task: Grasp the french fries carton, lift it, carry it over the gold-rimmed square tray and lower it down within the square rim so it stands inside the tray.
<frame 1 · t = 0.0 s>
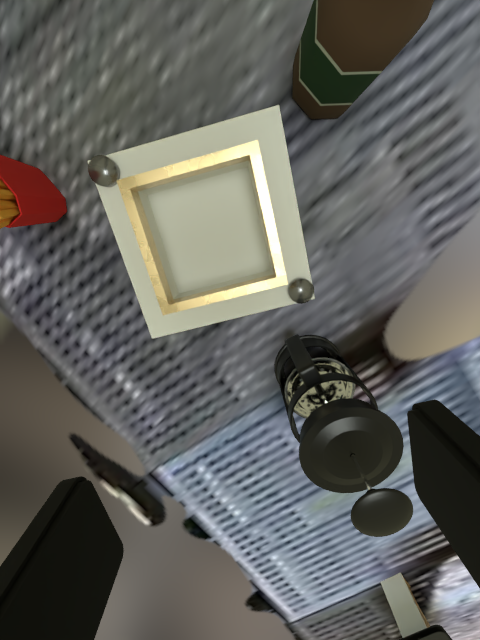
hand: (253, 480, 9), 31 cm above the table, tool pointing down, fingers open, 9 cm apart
french press: (305, 362, 42), on the table
gold-rimmed square tray: (211, 233, 37), on the table
beer bottle: (324, 83, 32), on the table
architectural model: (402, 590, 57), on the table
french fries: (44, 196, 35), on the table
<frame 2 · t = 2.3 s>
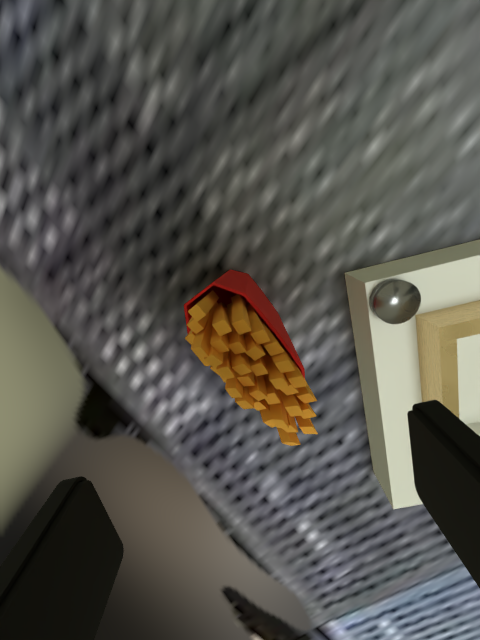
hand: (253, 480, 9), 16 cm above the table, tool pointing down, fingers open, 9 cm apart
gold-rimmed square tray: (478, 358, 25), on the table
french fries: (246, 308, 24), on the table
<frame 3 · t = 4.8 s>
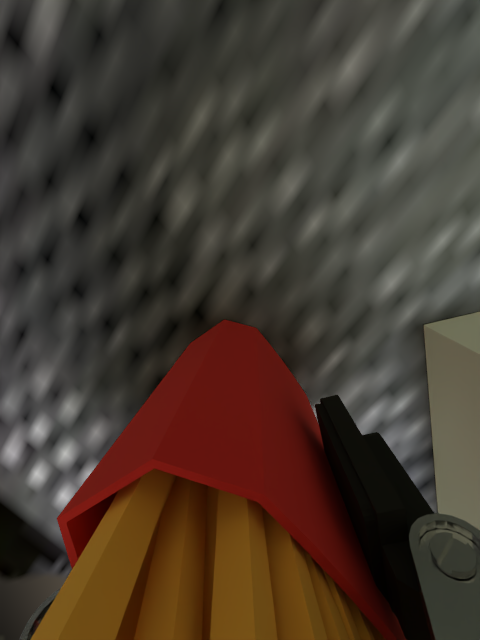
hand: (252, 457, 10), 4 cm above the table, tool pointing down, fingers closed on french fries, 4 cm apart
french fries: (252, 384, 14), on the table, touching gripper
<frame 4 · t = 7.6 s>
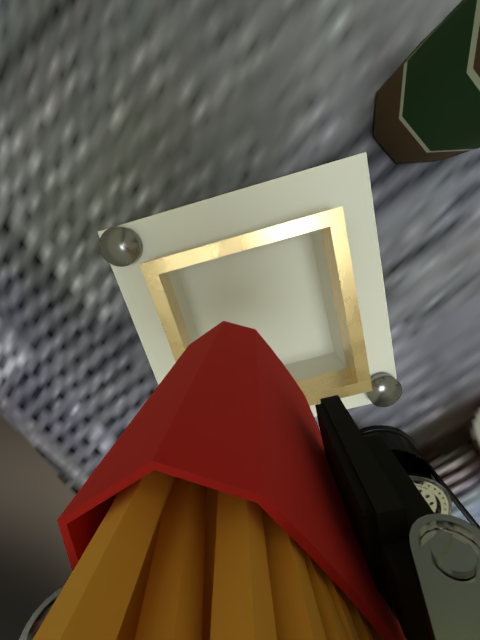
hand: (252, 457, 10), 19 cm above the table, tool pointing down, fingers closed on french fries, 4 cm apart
french press: (371, 456, 33), on the table
gold-rimmed square tray: (258, 308, 28), on the table
beer bottle: (416, 115, 24), on the table
french fries: (251, 386, 14), point 15 cm above the table, touching gripper
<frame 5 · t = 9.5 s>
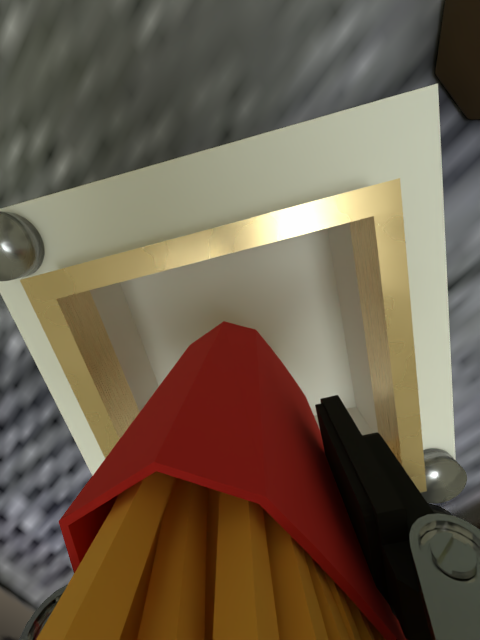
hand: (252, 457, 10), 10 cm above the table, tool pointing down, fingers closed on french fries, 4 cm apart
gold-rimmed square tray: (244, 341, 19), on the table
french fries: (251, 386, 14), point 5 cm above the table, touching gripper
when the fingers open (8 cm above the table, at t = 10.7 s): french fries drops 3 cm, resting on gold-rimmed square tray.
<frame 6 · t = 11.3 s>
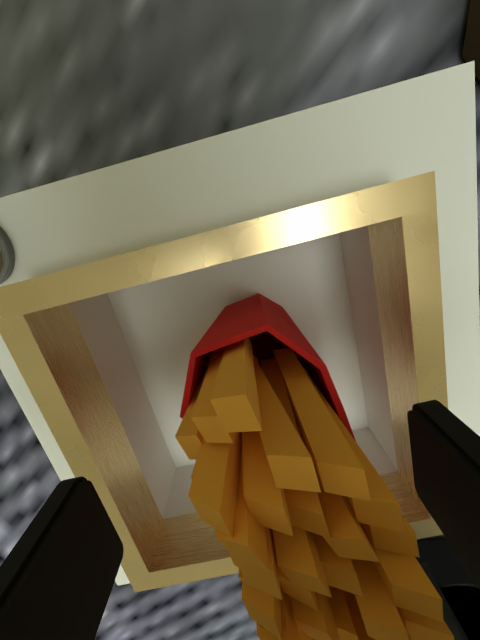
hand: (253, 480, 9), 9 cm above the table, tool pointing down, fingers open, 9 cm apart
french press: (413, 567, 22), on the table
gold-rimmed square tray: (246, 356, 17), on the table
french fries: (264, 354, 16), point 1 cm above the table, touching gold-rimmed square tray
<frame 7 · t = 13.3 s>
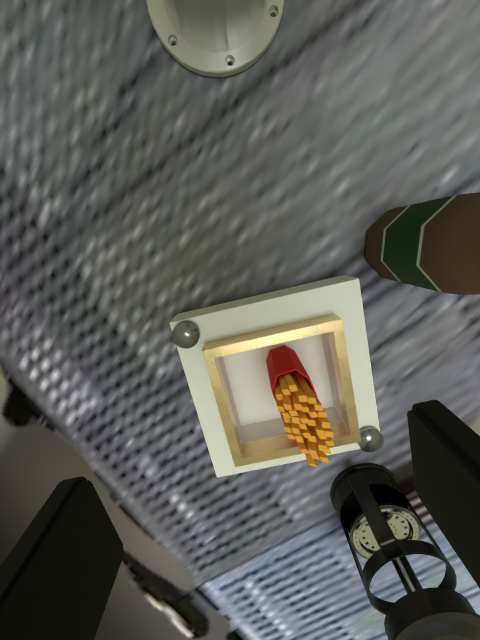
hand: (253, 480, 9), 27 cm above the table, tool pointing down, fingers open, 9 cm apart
french press: (361, 487, 42), on the table
gold-rimmed square tray: (277, 371, 37), on the table
beer bottle: (395, 244, 34), on the table
french fries: (285, 371, 37), resting on gold-rimmed square tray
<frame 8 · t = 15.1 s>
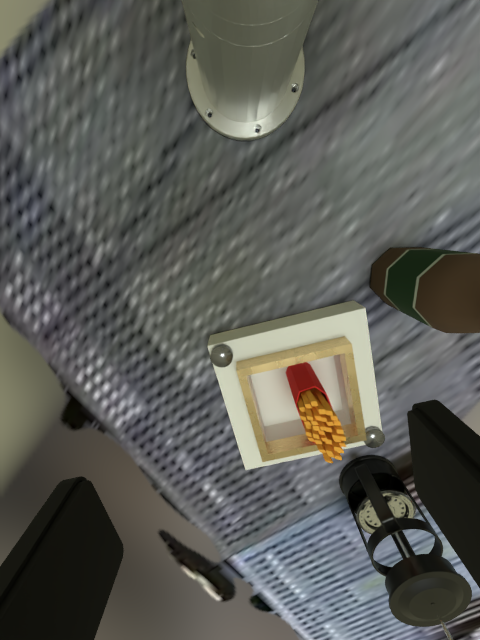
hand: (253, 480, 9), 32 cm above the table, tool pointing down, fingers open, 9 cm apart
french press: (365, 475, 49), on the table
gold-rimmed square tray: (294, 381, 44), on the table
beer bottle: (395, 274, 40), on the table
french fries: (302, 380, 43), resting on gold-rimmed square tray
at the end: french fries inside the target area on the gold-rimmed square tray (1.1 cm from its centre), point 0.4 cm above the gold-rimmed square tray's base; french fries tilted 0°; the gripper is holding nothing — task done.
